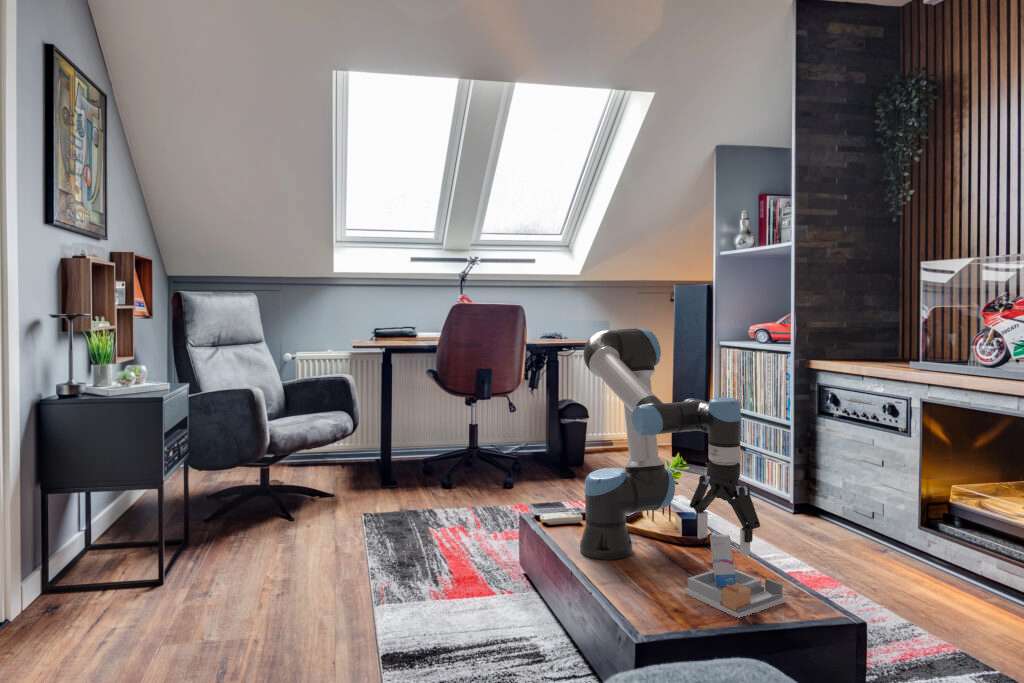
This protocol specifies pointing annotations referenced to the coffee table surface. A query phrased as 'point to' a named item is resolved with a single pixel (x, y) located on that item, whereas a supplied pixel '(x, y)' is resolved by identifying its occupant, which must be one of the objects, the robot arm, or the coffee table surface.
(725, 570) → the ink box
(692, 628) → the coffee table surface
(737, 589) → the brown block
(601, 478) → the robot arm
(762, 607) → the housing
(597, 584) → the coffee table surface
